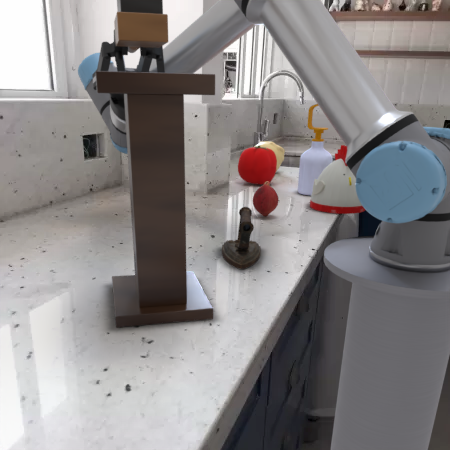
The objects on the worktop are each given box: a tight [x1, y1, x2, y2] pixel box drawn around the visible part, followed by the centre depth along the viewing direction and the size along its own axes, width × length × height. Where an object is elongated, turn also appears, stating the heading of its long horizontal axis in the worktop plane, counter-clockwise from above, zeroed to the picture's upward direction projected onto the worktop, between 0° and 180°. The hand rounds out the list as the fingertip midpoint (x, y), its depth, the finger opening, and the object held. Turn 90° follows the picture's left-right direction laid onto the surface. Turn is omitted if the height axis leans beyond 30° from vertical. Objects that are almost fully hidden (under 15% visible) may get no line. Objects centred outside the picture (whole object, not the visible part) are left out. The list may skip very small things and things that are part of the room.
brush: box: [113, 0, 169, 54], centre depth 68 cm, size 23×6×6 cm, turn 14°
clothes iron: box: [221, 206, 262, 270], centre depth 81 cm, size 7×11×10 cm, turn 0°
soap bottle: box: [297, 103, 334, 197], centre depth 134 cm, size 9×9×25 cm
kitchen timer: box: [309, 144, 366, 215], centre depth 119 cm, size 14×14×15 cm
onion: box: [252, 181, 280, 217], centre depth 110 cm, size 6×6×8 cm
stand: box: [96, 71, 216, 328], centre depth 60 cm, size 14×12×28 cm
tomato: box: [237, 145, 277, 186], centre depth 150 cm, size 12×13×12 cm
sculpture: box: [253, 140, 286, 172], centre depth 172 cm, size 12×12×11 cm
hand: (135, 18), depth 67 cm, fingers closed on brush, 2 cm apart
